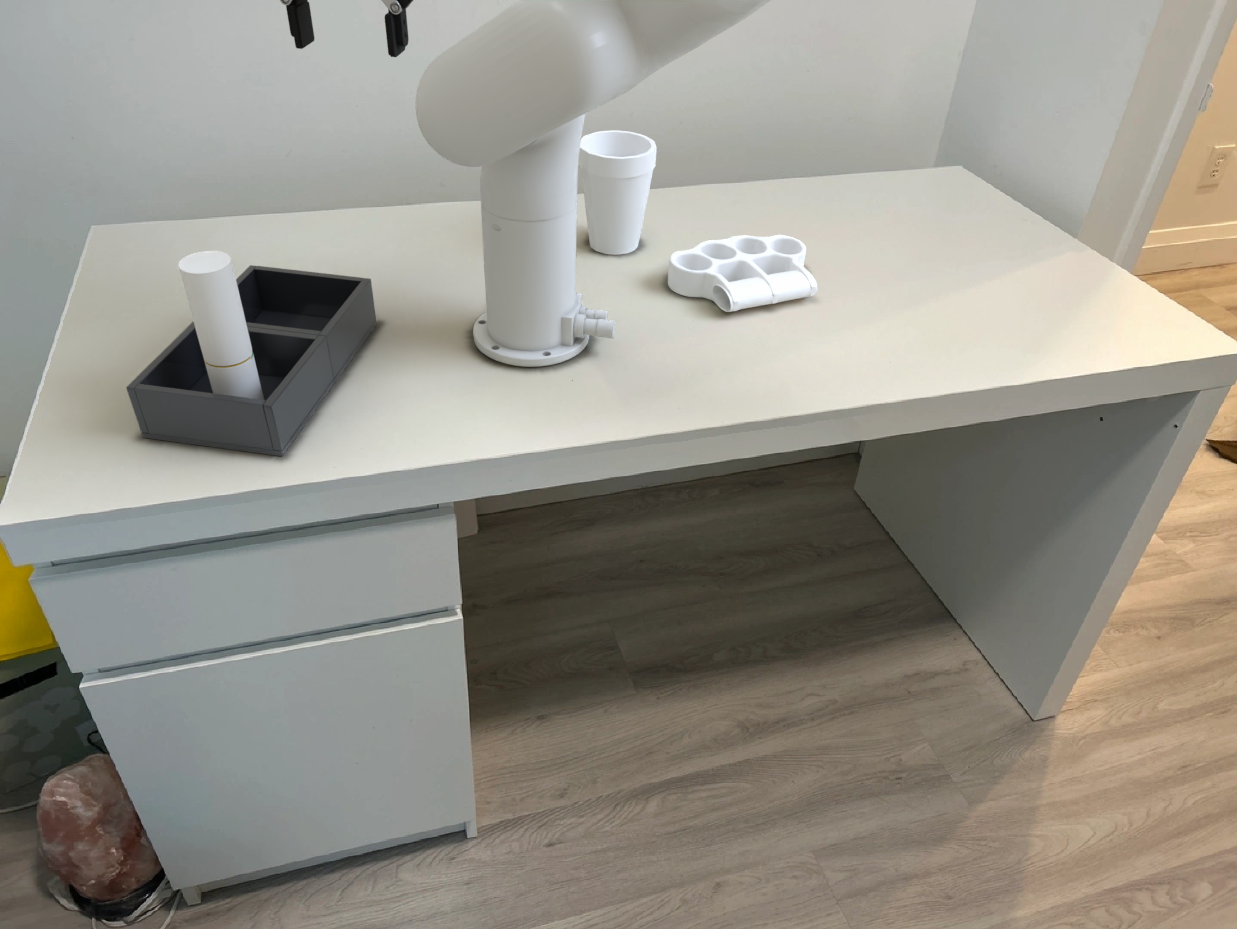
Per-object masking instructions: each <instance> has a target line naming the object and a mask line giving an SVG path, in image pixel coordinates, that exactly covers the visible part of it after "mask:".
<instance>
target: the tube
mask: <svg viewBox="0 0 1237 929" xmlns="http://www.w3.org/2000/svg"><path fill="white" fill-rule="evenodd" d="M177 266H178V270H179V273H180V277H181V280H182V285H183V288H184V291H185V295H186V300H187V303H188V306H189V309H190V314H191V318H192V322H193V321H194V325H195V329H196V332H197V336H198V340H199V343H200V347H201V351H202V354H203V358H204V362H205V365H206V369H207V373H208V376H209V380H210V384H211V387H212V391H213V393H215V394H222V395H230V396H238V397H246V398H253V399H261V400H264V397H263V393H262V389H261V385H260V380H259V376H258V372H257V367H256V363H255V359H254V355H253V352H252V346H251V342H250V337H249V333H248V329H247V325H246V320H245V316H244V312H243V307H242V303H241V299H240V295H239V290H238V286H237V282H236V279H237V277H236V274H235V269H234V265H233V261H232V257H231V256H230V254H228V253H226V252H224V251H220V250H203V251H197V252H193V253H190V254H187V255H186V256H183V257H182V258H181V259H180V260H179V262H178V265H177Z"/></svg>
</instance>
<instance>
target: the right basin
mask: <svg viewBox="0 0 1237 929" xmlns="http://www.w3.org/2000/svg"><path fill="white" fill-rule="evenodd" d="M236 282H237V286H238V290H239V295H240V299H241V303H242V307H243V312H244V316H245V320H246V325H247V327H254V328H263V329H271V330H279V331H287V332H296V333H304V334H312V335H318V336H326V340H327V346H328V351H329V357H330V363H331V369H332V374H333V380H334V385H335V384H336V383H337V381H338V379H339V378H340V377H341V376H342V374H343V372H344V371H345V370H346V368H347V367H348V366H349V365H350V363H351V361H352V360H353V358H354V357H355V356H356V354H357V353H358V352H359V350H360V349H361V348H362V346H363V345H364V343H365V342H366V340H367V339H368V338H369V336H370V335H371V333H372V332H373V331H374V329H375V328H376V327H377V325H378V322H377V315H376V307H375V300H374V293H373V285H372V284H373V283H372V278H368V277H359V276H351V275H342V274H341V275H340V274H334V273H333V274H332V273H325V272H317V271H316V272H315V271H307V270H299V269H289V268H280V267H272V266H263V265H249V266H248V267H247V268H245V270H244V271H242V273H240V274H239V276H238V277H236Z"/></svg>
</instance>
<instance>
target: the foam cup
mask: <svg viewBox="0 0 1237 929" xmlns="http://www.w3.org/2000/svg"><path fill="white" fill-rule="evenodd" d="M656 144H657V143H656V141H655V140H654V139H652V138H651V137H649V136H647V135H645V134H641V133H638V132H635V131H627V130H616V129H614V130H613V129H612V130H600V131H599V130H598V131H595V132H592V133H591V132H590V133H588V134H585V135H583V137H581V143H580V150H579V160H578V166H579V167H580V172H581V181H582V189H583V198H584V207H585V215H586V225H587V232H588V240H589V246H590V248H592V250H594V251H595V252H598V253H601V254H604V255H613V256H619V255H627V254H630V253H632V252H634V251H636V249H637V248H638V247H639V242H640V239H641V234H642V229H643V225H644V219H645V214H646V209H647V205H648V198H649V193H650V188H651V183H652V178H653V173H654V169H655V168H656V164H657V148H658V147H657V145H656Z"/></svg>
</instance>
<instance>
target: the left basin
mask: <svg viewBox="0 0 1237 929" xmlns="http://www.w3.org/2000/svg"><path fill="white" fill-rule="evenodd" d="M247 329H248V333H249V337H250V342H251V346H252V352H253V355H254V359H255V363H256V367H257V372H258V376H259V380H260V385H261V389H262V393H263V397H264V400H261V399H253V398H246V397H238V396H230V395H222V394H215V393H213V391H212V387H211V384H210V380H209V376H208V373H207V369H206V365H205V362H204V358H203V354H202V351H201V347H200V343H199V340H198V336H197V332H196V329H195V325H194V321H193V320H192V322H191V323H190V324H189V325H188V326H187V327H186V328H185V329H184V330H183V331H182V332H181V333H179V334H178V336H176V338H175V339H173V341H171V343H170V344H169V345H167V347H166V348H164V350H162V351H161V352H160V353H159V354H158V355H157V356H156V357H155V358H154V359H153V360H152V361H151V362H150V363H149V364H148V365H147V366H146V367H145V368H144V369H143V370H142V371H141V372H140V373H139V374H138V375H137V376H136V377H135V378H134V379H133V380H132V381H130V383H129V384H127V386H126V387H125V389H126V392H127V395H128V397H129V400H130V403H131V406H132V409H133V413H134V415H135V418H136V421H137V424H138V427H139V430H140V432H141V433H140V434H141V436H142V438H144V439H150V440H151V439H152V440H159V441H166V442H172V443H173V442H174V443H181V444H189V445H196V446H204V447H212V448H217V449H218V448H219V449H226V450H232V451H239V452H240V451H241V452H247V453H254V454H262V455H268V456H269V455H270V456H278V457H283V456H284V455H285V454H286V453H287V451H288V450H289V449H290V447H291V446H292V444H293V443H294V441H295V440H296V439H297V437H298V435H299V434H300V432H301V431H302V430H303V429H304V427H305V426H306V425H307V423H308V422H309V420H310V419H311V417H312V416H313V415H314V413H315V412H316V410H317V409H318V408H319V406H320V405H321V404H322V402H323V401H324V399H325V398H326V396H328V394H329V392H331V389H332V388H333V386H334V385H335V384H334V380H333V374H332V369H331V363H330V357H329V351H328V346H327V340H326V336H318V335H312V334H304V333H296V332H287V331H279V330H271V329H263V328H254V327H247Z"/></svg>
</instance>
